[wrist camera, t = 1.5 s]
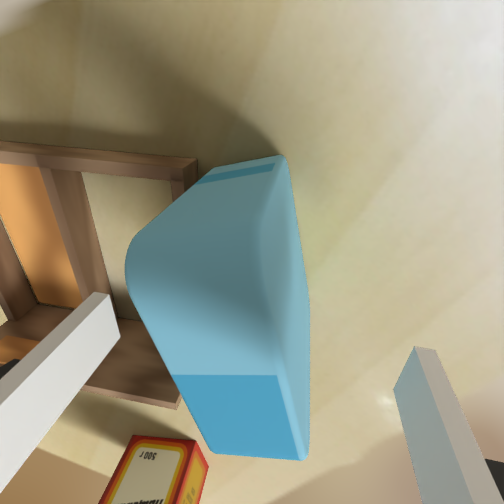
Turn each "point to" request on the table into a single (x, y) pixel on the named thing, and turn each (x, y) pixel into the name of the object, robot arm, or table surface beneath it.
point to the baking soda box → (157, 473)
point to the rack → (73, 259)
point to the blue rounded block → (231, 307)
